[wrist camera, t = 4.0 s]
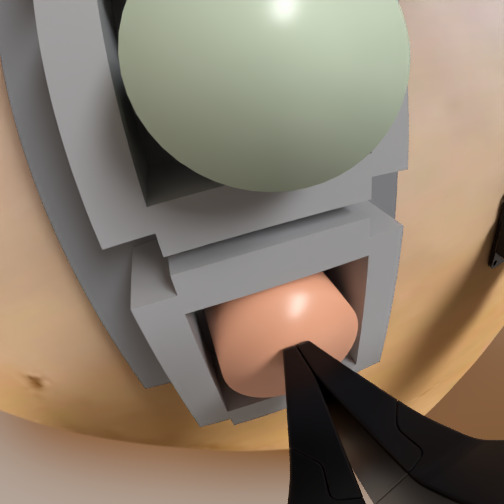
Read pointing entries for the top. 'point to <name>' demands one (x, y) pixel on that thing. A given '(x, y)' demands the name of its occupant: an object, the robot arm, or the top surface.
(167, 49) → the sage button
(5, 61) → the button panel
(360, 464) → the robot arm
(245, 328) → the terracotta button
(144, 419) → the top surface
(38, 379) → the top surface
